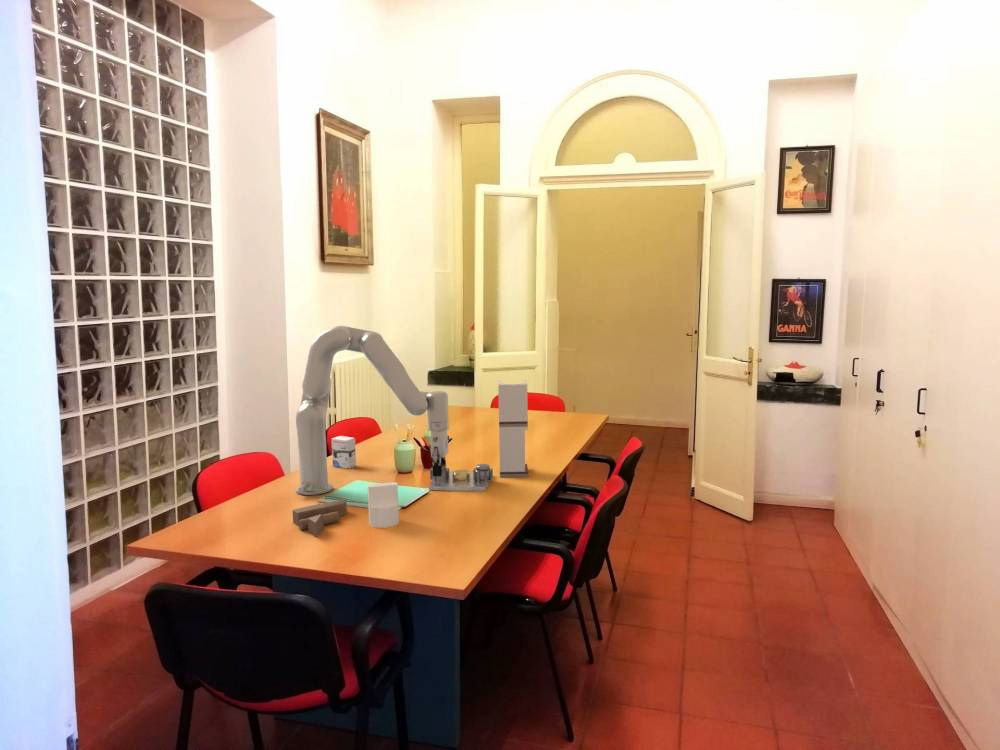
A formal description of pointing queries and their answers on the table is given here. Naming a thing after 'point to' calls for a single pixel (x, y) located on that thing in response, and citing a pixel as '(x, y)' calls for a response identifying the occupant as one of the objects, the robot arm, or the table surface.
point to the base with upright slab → (383, 504)
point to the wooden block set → (319, 516)
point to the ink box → (343, 452)
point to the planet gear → (444, 474)
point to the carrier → (465, 480)
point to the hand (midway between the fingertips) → (439, 472)
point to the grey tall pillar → (512, 429)
